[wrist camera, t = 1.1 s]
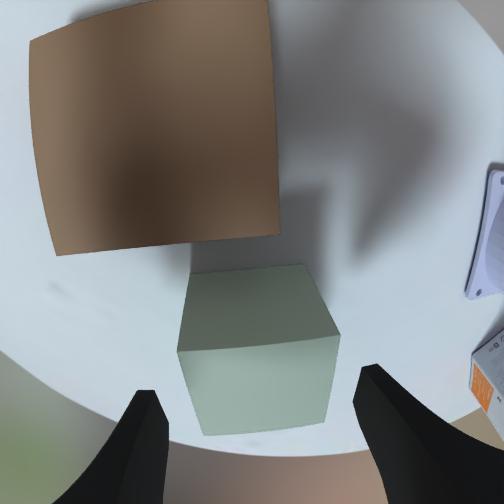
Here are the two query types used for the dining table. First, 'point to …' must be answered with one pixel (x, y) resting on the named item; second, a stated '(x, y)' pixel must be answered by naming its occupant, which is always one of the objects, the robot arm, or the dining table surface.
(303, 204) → the dining table surface
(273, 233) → the walnut block
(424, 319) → the dining table surface
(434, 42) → the dining table surface
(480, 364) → the skincare box
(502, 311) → the dining table surface
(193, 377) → the sage cube
